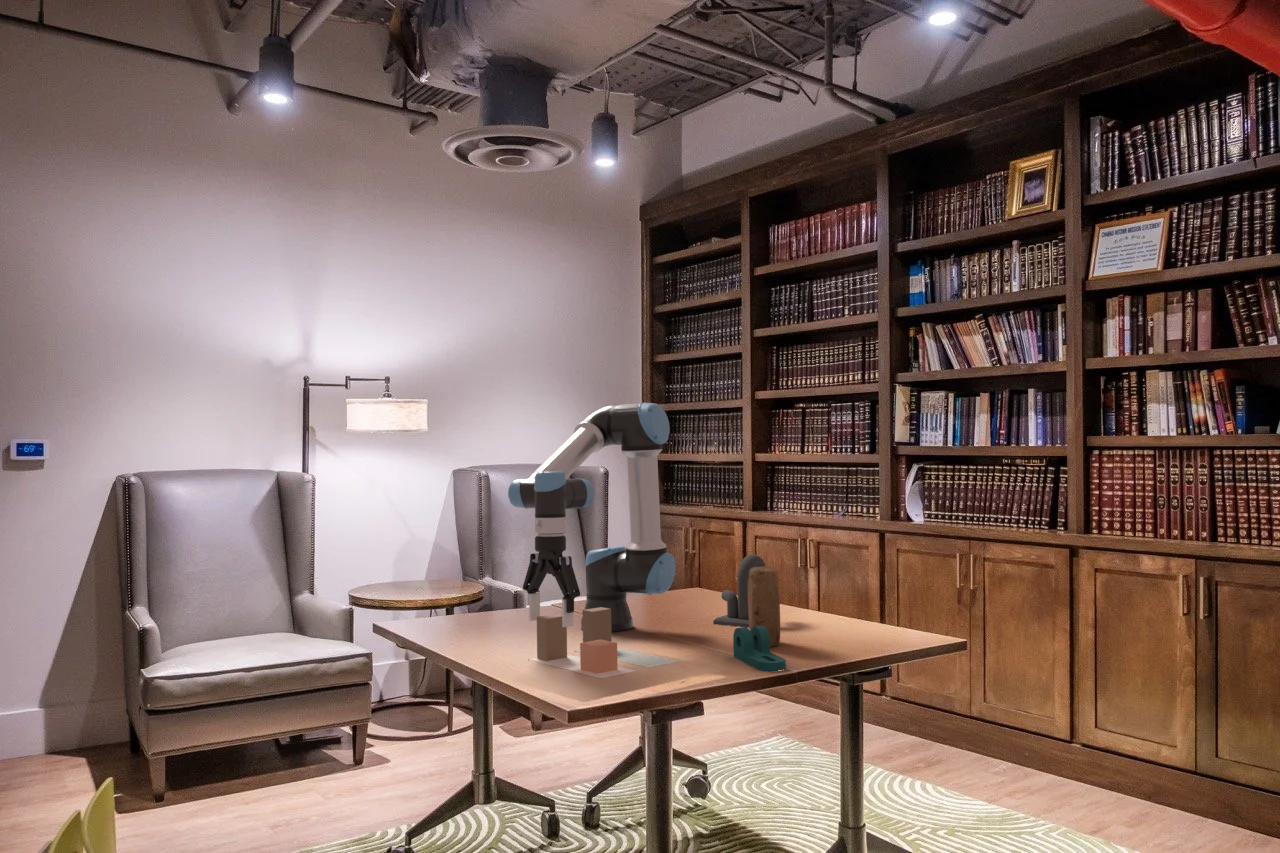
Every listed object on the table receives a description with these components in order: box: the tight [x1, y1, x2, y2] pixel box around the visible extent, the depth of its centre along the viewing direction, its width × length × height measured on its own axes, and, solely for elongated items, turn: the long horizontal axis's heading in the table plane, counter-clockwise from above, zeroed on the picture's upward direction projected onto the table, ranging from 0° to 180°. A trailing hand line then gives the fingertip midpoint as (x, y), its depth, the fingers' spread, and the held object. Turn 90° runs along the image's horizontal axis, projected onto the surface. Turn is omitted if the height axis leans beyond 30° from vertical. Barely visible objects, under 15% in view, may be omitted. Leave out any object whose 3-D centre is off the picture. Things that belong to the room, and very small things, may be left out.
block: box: [748, 566, 781, 648], centre depth 252 cm, size 11×8×20 cm
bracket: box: [732, 626, 787, 672], centre depth 229 cm, size 18×7×8 cm, turn 17°
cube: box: [579, 639, 619, 674], centre depth 219 cm, size 6×6×6 cm
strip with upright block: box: [573, 607, 681, 669], centre depth 234 cm, size 28×10×11 cm, turn 41°
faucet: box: [712, 553, 767, 628], centre depth 285 cm, size 18×16×20 cm
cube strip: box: [527, 613, 636, 679], centre depth 224 cm, size 28×10×11 cm, turn 41°
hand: (550, 623), depth 232 cm, fingers open, 13 cm apart
